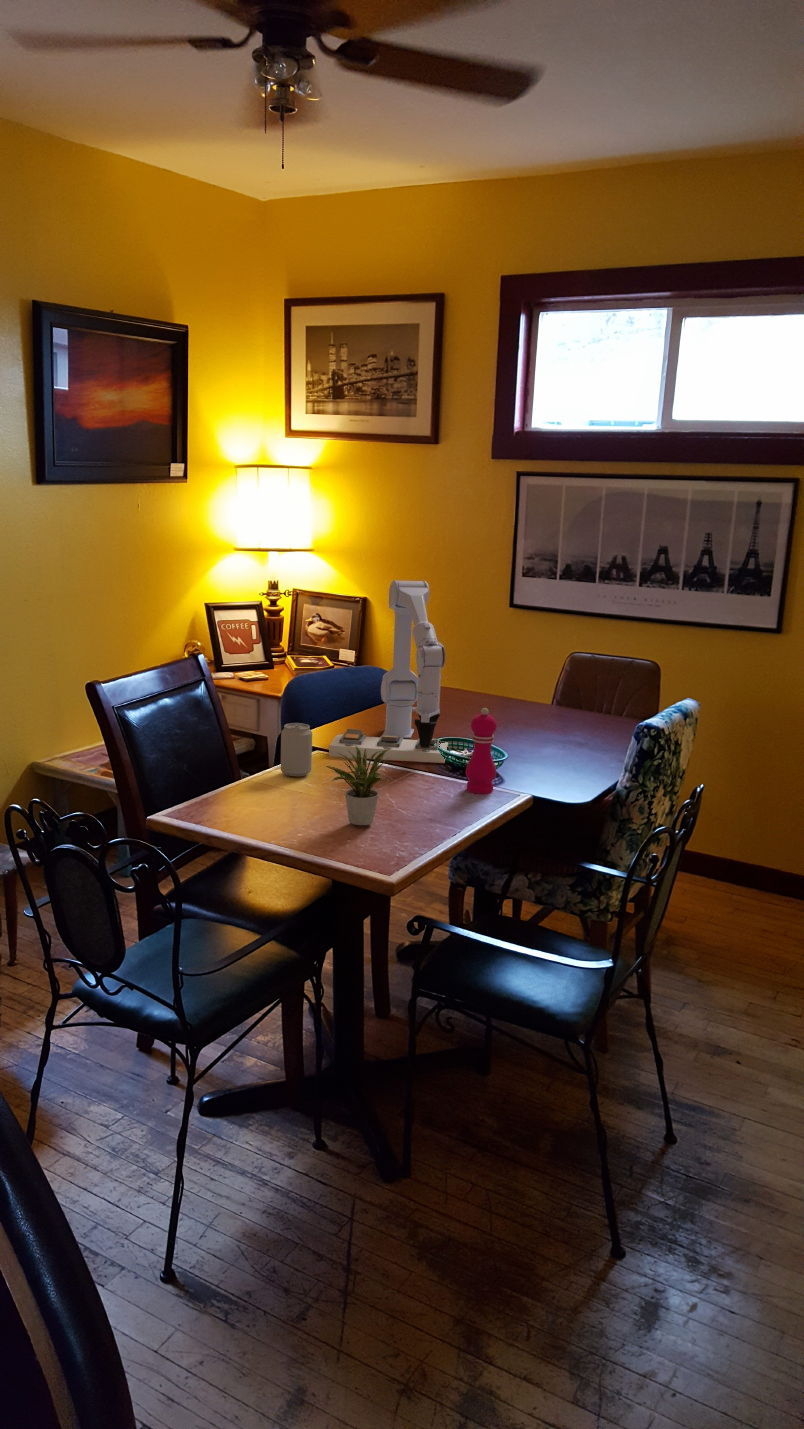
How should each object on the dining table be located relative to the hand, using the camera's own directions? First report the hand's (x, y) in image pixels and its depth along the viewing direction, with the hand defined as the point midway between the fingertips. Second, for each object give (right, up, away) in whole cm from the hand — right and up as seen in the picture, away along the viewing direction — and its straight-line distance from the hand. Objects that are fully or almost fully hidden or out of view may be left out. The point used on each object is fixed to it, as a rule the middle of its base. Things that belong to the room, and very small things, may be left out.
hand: (426, 743), depth 262 cm
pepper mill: (+12, -11, -21) cm, 26 cm away
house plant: (-15, -15, -45) cm, 50 cm away
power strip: (-4, -4, +6) cm, 8 cm away
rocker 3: (+1, +1, +6) cm, 6 cm away
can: (-32, -7, -13) cm, 35 cm away
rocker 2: (-9, +1, +7) cm, 12 cm away
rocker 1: (-19, +2, +8) cm, 21 cm away
